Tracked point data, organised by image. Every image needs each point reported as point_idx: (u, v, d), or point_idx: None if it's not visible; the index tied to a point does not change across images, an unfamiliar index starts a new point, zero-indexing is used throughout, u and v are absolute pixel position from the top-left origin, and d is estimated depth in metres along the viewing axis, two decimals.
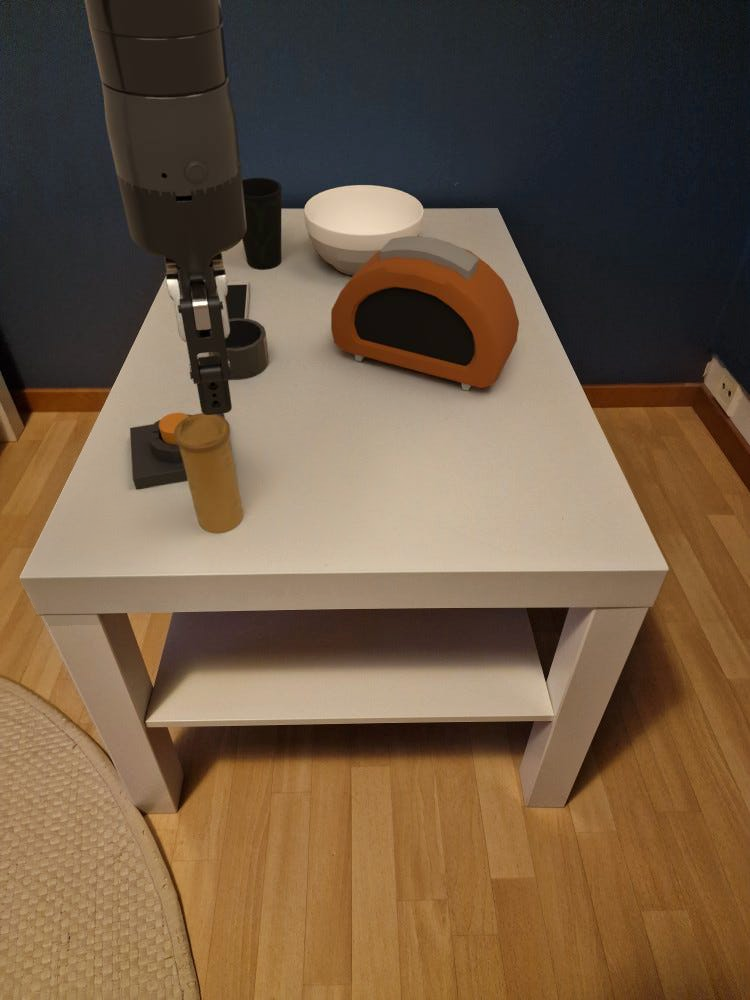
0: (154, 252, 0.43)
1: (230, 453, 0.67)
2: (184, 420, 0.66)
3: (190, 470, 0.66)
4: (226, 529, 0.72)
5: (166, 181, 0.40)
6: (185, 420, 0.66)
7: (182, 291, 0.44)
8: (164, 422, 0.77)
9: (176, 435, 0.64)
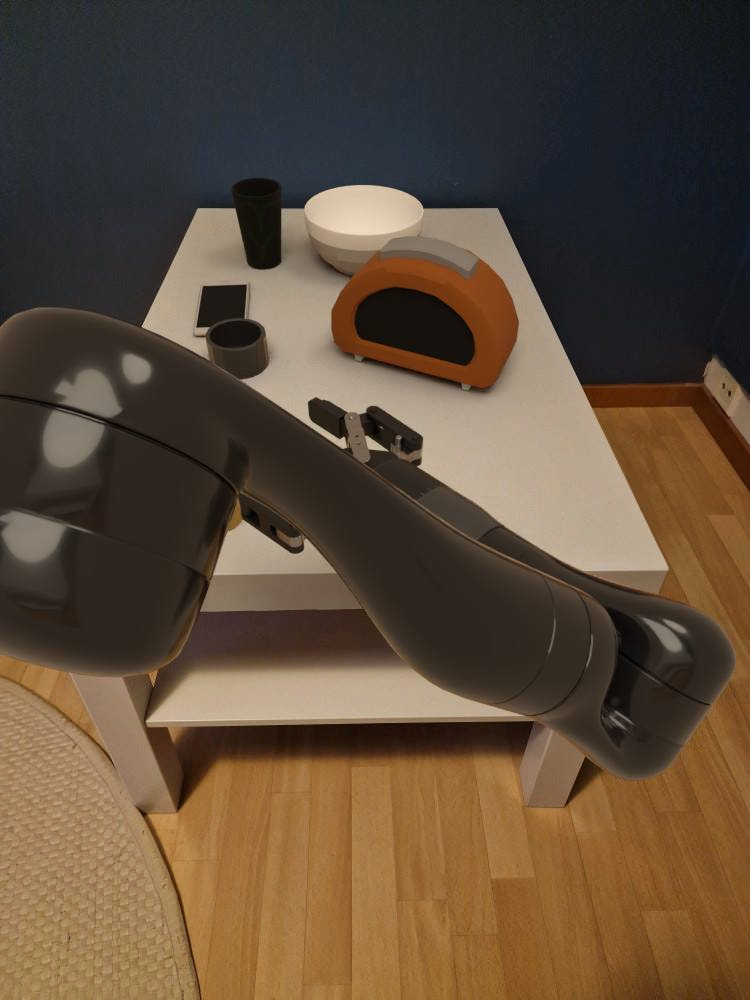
0: None
1: None
2: None
3: None
4: None
5: None
6: None
7: None
8: None
9: None
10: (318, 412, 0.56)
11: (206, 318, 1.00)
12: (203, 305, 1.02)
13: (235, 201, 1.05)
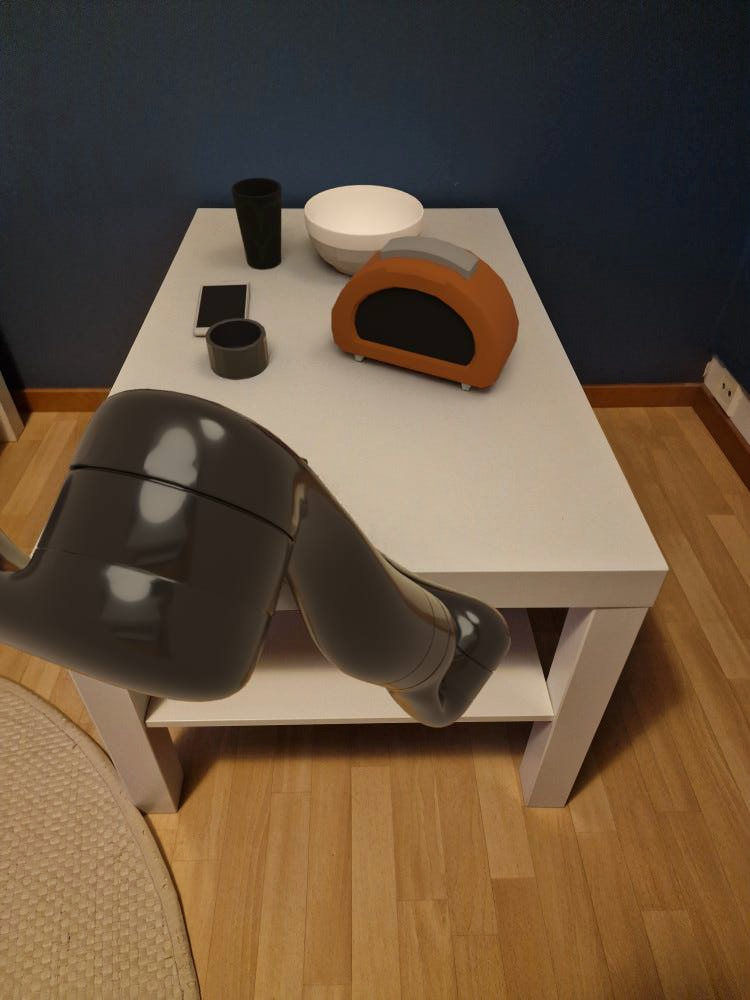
0: None
1: None
2: None
3: None
4: None
5: None
6: None
7: None
8: None
9: None
10: None
11: (206, 318, 1.00)
12: (203, 305, 1.02)
13: (235, 201, 1.05)
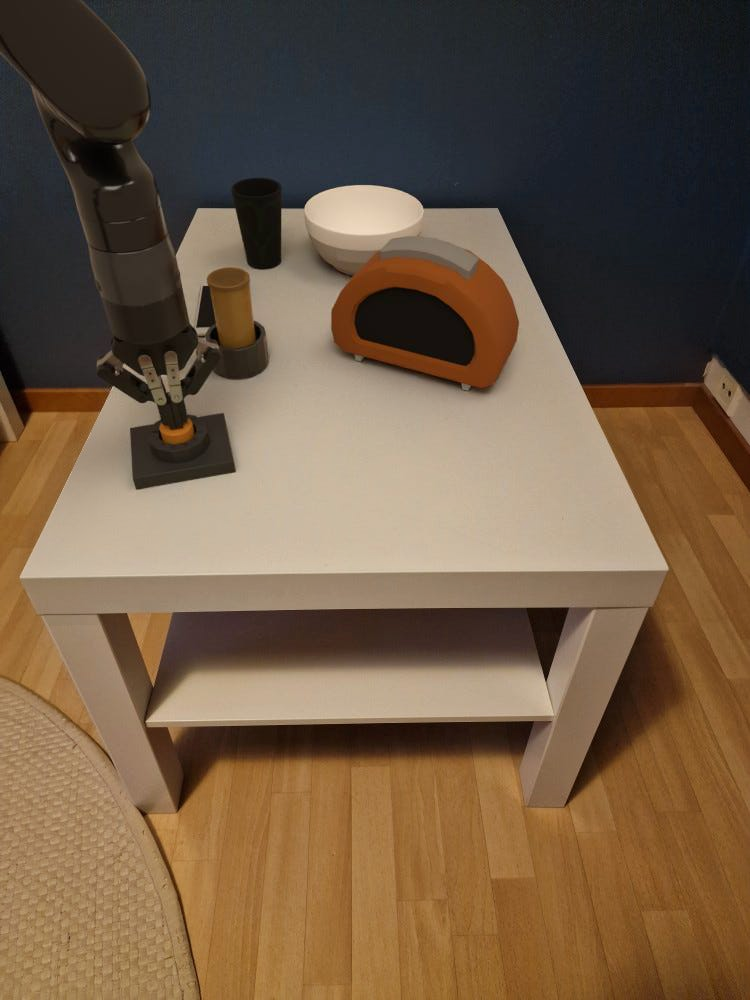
0: None
1: (249, 298, 0.86)
2: (214, 271, 0.85)
3: (219, 309, 0.85)
4: None
5: None
6: (215, 271, 0.85)
7: None
8: None
9: (208, 280, 0.84)
10: None
11: (206, 318, 1.00)
12: (203, 305, 1.02)
13: (235, 201, 1.05)
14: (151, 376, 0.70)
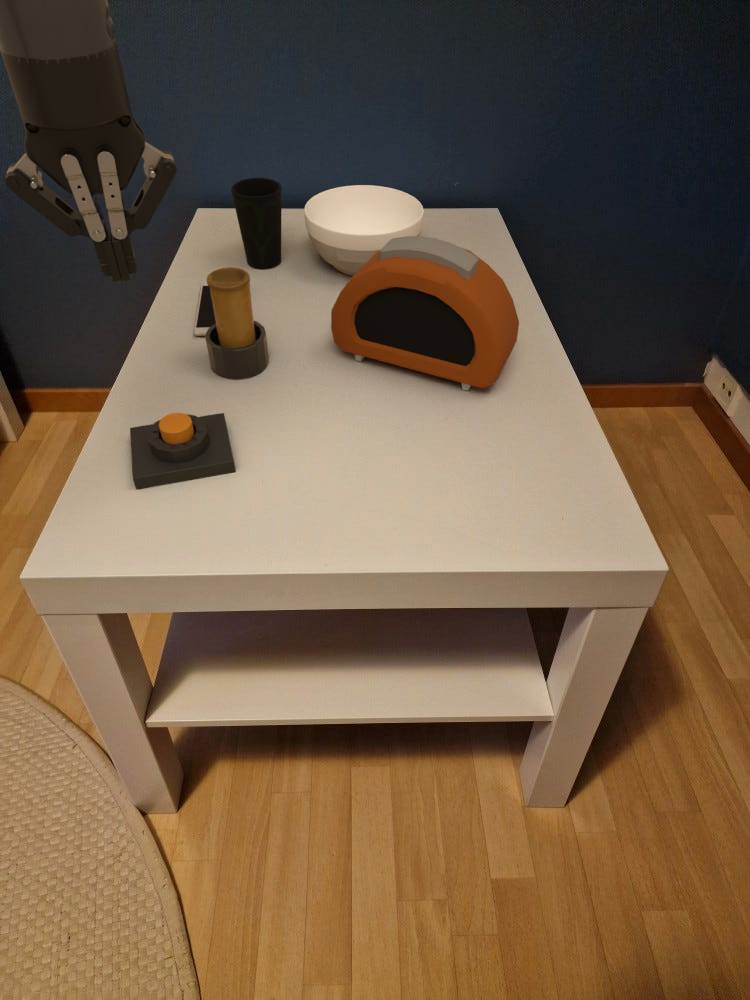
0: None
1: (249, 298, 0.86)
2: (214, 271, 0.85)
3: (219, 309, 0.85)
4: None
5: None
6: (215, 271, 0.85)
7: None
8: (164, 422, 0.77)
9: (208, 280, 0.84)
10: None
11: (206, 318, 1.00)
12: (203, 305, 1.02)
13: (235, 201, 1.05)
14: (81, 192, 0.52)
